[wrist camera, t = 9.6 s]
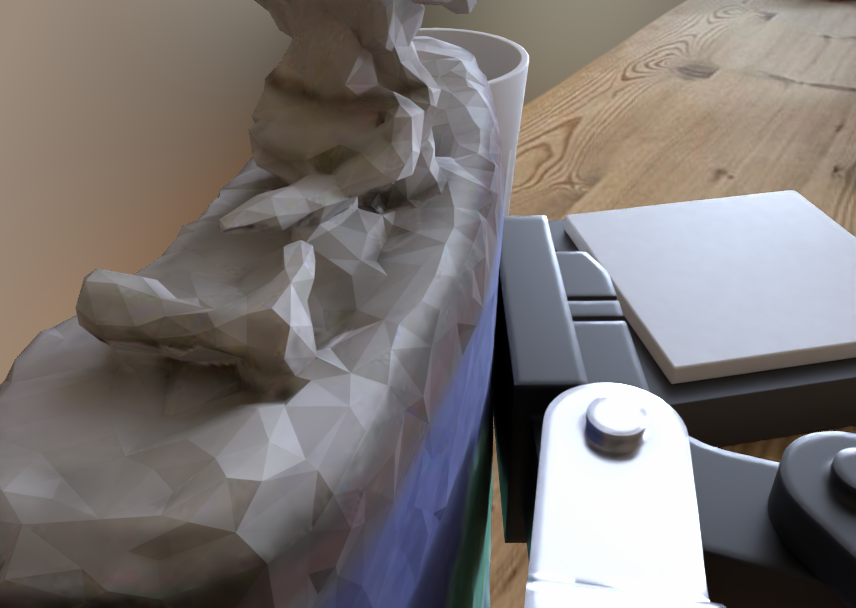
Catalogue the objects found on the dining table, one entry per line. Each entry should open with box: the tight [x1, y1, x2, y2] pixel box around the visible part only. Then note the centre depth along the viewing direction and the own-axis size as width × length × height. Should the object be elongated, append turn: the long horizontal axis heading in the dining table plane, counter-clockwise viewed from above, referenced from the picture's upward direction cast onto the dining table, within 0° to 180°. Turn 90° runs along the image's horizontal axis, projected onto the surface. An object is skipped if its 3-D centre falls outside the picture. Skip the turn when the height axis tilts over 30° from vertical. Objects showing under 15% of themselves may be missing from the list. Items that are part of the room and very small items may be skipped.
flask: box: [0, 0, 504, 608], centre depth 9 cm, size 9×3×11 cm, turn 172°
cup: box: [415, 28, 529, 216], centre depth 34 cm, size 8×8×12 cm
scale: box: [548, 190, 856, 447], centre depth 35 cm, size 14×14×3 cm
